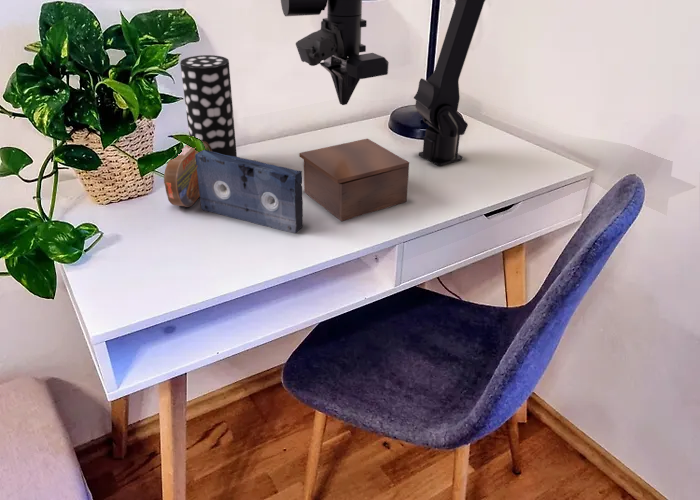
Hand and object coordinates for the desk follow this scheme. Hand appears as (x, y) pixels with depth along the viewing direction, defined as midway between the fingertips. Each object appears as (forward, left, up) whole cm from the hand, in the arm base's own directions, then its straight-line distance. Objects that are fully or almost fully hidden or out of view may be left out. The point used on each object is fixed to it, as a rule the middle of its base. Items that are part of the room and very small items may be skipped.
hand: (343, 104), depth 112 cm
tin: (+28, -5, -13) cm, 31 cm away
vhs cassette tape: (+23, +8, -13) cm, 28 cm away
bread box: (+4, +10, -13) cm, 17 cm away
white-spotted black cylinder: (+20, -14, -13) cm, 28 cm away
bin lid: (+5, +10, -6) cm, 13 cm away
